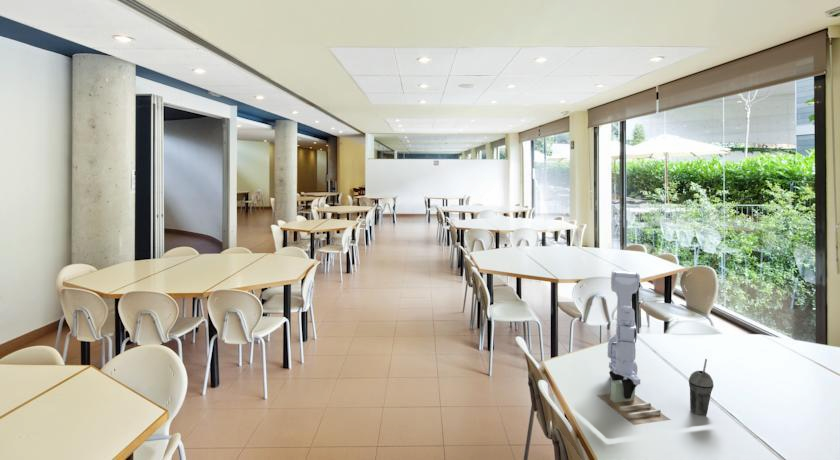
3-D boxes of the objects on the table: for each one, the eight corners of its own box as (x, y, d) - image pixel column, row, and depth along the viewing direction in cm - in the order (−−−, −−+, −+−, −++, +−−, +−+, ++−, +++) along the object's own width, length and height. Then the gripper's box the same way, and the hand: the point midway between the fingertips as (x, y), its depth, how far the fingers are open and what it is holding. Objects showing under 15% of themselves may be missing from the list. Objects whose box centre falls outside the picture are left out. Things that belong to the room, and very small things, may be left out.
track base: (629, 394, 170) (630, 387, 169) (670, 422, 150) (670, 415, 150) (596, 398, 167) (596, 391, 166) (633, 428, 147) (634, 420, 147)
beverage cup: (681, 410, 158) (685, 355, 156) (700, 409, 159) (705, 354, 157) (695, 421, 151) (700, 364, 149) (716, 420, 152) (721, 363, 149)
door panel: (629, 397, 165) (630, 378, 164) (634, 400, 163) (635, 381, 162) (610, 399, 163) (611, 380, 163) (614, 402, 161) (615, 384, 160)
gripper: (602, 351, 167) (600, 386, 169) (628, 368, 153) (626, 406, 155) (619, 350, 169) (617, 384, 171) (646, 366, 155) (644, 403, 157)
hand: (622, 394), depth 163 cm, fingers open, 5 cm apart
